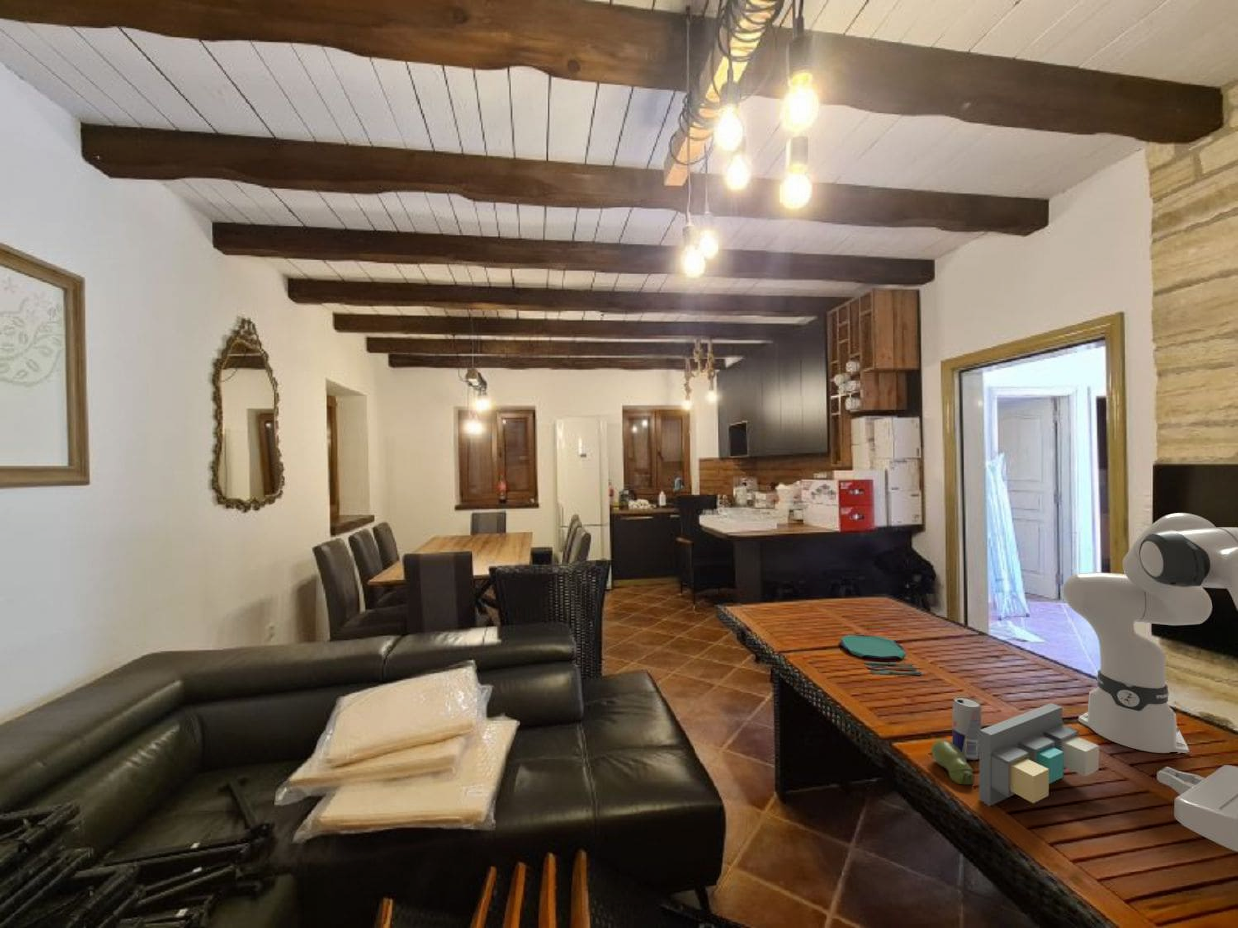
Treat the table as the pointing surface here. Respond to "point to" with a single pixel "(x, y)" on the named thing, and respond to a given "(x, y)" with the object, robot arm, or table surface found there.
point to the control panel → (1017, 747)
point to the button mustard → (1029, 780)
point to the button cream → (1080, 755)
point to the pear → (952, 761)
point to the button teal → (1051, 762)
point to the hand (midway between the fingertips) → (1160, 772)
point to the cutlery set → (877, 652)
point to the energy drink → (967, 726)
